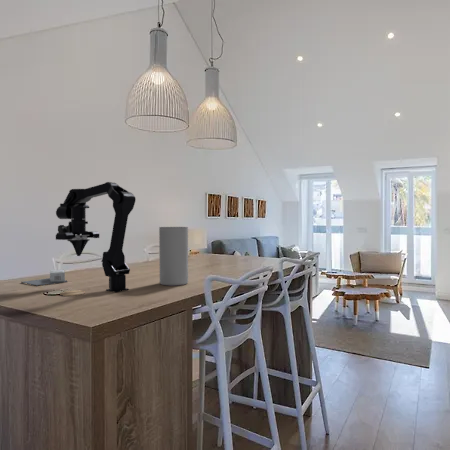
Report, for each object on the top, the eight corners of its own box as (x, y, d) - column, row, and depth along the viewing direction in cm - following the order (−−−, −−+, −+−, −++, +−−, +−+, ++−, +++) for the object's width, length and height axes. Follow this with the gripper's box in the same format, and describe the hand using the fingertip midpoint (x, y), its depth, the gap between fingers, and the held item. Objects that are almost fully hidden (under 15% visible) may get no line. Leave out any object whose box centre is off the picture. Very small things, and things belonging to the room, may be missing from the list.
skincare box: (50, 272, 164) (49, 269, 175) (50, 282, 165) (49, 278, 175) (65, 272, 167) (63, 268, 178) (65, 282, 167) (63, 277, 178)
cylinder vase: (190, 281, 170) (190, 226, 169) (185, 286, 157) (184, 227, 157) (163, 281, 171) (163, 226, 171) (156, 285, 158) (155, 227, 158)
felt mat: (67, 281, 170) (67, 280, 170) (36, 286, 158) (36, 284, 158) (50, 279, 178) (50, 277, 178) (20, 283, 167) (20, 281, 167)
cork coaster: (89, 293, 143) (89, 292, 143) (68, 297, 136) (68, 296, 136) (76, 290, 148) (76, 289, 148) (54, 294, 141) (54, 293, 141)
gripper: (81, 219, 169) (82, 253, 169) (46, 219, 152) (46, 257, 152) (100, 219, 164) (100, 254, 164) (65, 219, 147) (65, 258, 147)
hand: (78, 255), depth 157 cm, fingers closed
